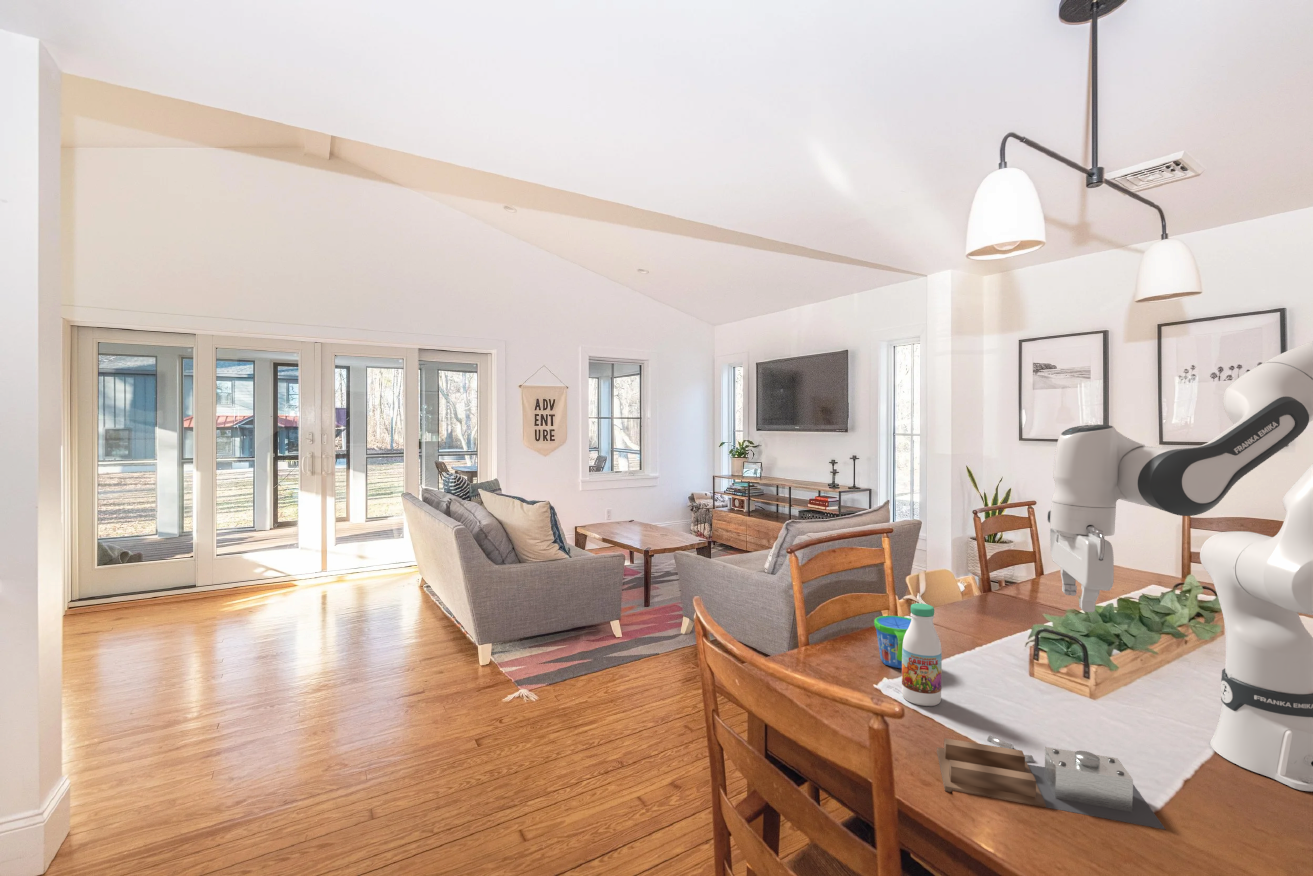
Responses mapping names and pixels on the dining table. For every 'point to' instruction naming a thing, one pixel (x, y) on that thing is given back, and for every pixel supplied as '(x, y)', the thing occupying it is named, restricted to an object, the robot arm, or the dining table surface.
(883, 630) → the snack cup
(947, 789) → the stand
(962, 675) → the dining table surface
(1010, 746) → the pin
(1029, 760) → the pin
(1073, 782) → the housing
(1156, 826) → the bench mat
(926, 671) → the milk bottle
